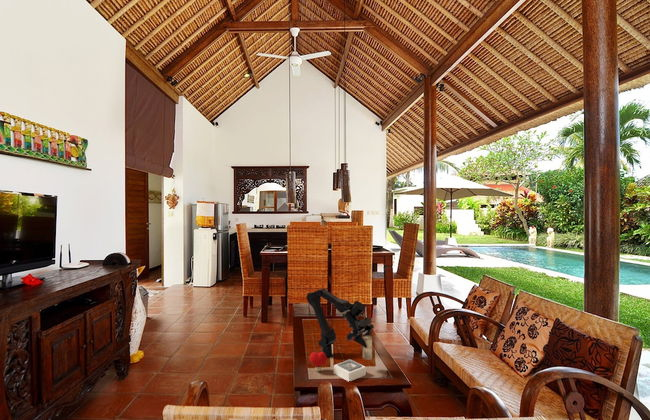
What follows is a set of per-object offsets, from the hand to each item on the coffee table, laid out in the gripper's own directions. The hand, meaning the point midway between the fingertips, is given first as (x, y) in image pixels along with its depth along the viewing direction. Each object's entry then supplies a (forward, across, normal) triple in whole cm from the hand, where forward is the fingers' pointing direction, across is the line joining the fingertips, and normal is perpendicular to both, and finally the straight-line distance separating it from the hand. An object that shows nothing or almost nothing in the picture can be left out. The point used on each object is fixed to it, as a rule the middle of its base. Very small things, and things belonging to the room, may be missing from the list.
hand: (369, 345), depth 181 cm
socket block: (+6, -10, +14) cm, 18 cm away
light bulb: (-4, -19, +24) cm, 31 cm away
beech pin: (+4, 0, +6) cm, 7 cm away
